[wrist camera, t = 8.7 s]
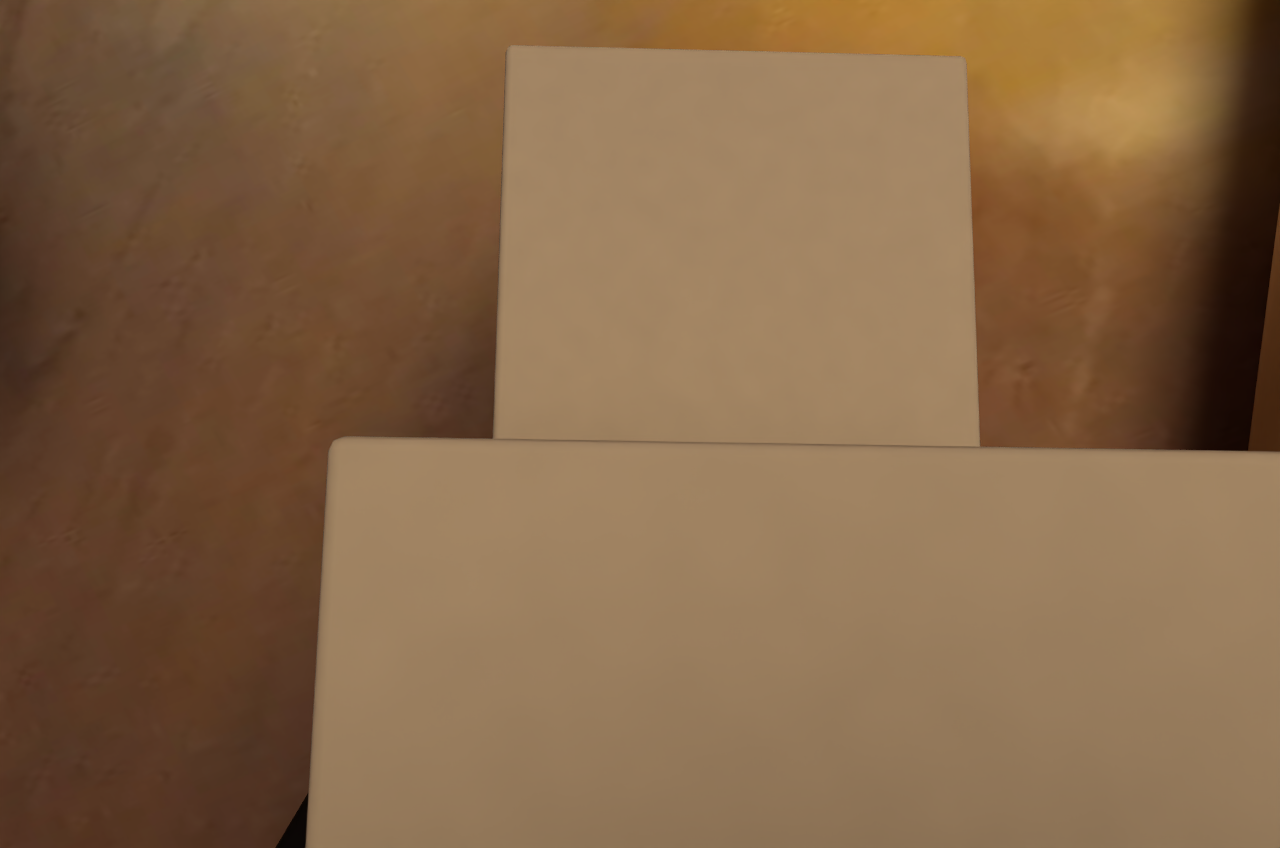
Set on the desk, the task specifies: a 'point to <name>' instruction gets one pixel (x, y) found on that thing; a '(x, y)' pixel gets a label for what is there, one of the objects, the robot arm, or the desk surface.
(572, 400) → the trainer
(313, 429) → the desk surface
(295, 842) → the robot arm
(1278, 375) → the platform
